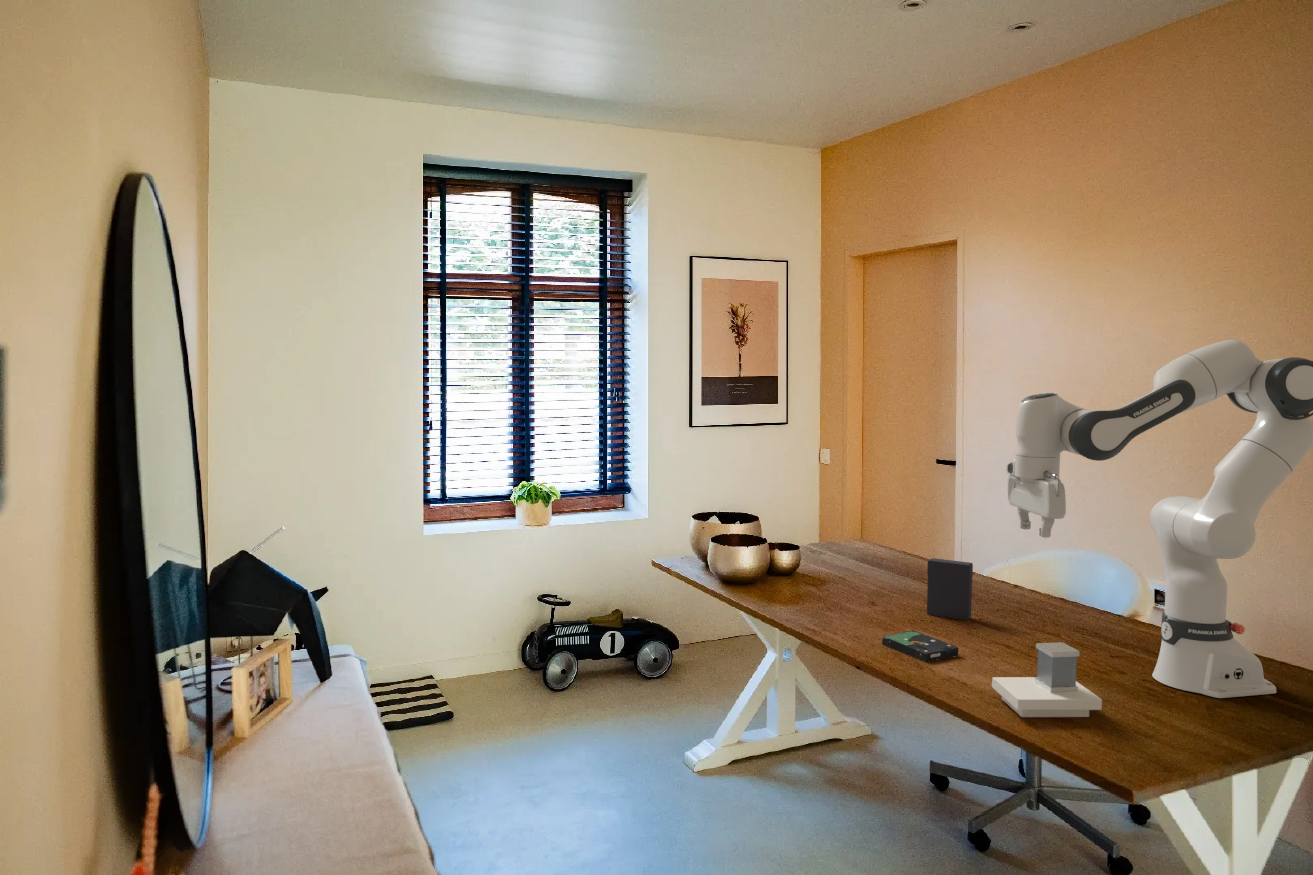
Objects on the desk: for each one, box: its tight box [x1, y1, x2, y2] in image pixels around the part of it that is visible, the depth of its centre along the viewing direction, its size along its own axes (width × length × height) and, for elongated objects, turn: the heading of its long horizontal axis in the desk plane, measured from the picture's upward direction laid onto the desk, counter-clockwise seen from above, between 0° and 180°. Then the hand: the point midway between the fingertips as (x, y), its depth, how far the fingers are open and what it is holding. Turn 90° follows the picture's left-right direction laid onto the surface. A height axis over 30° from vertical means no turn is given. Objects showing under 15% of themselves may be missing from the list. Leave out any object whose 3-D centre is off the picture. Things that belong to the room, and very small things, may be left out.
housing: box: [1034, 642, 1080, 693], centre depth 171 cm, size 6×6×8 cm
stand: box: [991, 676, 1103, 718], centre depth 171 cm, size 16×12×4 cm
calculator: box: [926, 557, 974, 621], centre depth 235 cm, size 11×4×15 cm, turn 58°
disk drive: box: [881, 630, 959, 663], centre depth 207 cm, size 10×3×15 cm
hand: (1034, 532), depth 189 cm, fingers open, 8 cm apart
